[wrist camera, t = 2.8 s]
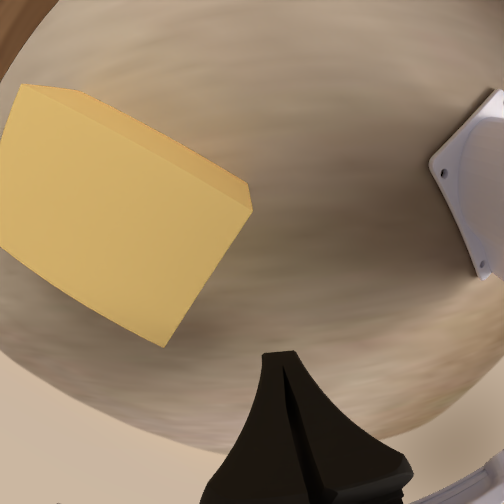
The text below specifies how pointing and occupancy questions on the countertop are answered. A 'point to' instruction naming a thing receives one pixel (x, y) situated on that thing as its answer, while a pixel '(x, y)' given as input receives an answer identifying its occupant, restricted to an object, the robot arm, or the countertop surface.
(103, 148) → the ochre block
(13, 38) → the walnut board
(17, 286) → the countertop surface
